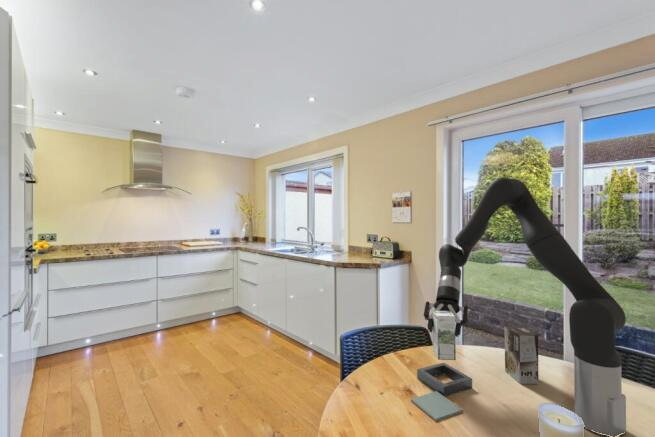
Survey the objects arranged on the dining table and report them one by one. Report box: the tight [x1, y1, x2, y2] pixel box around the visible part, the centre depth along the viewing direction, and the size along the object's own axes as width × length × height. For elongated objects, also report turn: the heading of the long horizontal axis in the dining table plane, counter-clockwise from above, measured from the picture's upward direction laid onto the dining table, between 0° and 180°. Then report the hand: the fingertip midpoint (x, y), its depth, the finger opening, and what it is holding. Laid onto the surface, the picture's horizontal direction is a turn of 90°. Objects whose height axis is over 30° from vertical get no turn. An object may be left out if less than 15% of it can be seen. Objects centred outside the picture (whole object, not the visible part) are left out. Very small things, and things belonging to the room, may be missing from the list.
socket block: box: [416, 362, 473, 398], centre depth 99 cm, size 12×12×3 cm
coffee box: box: [503, 325, 540, 385], centre depth 103 cm, size 9×6×16 cm
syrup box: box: [432, 310, 457, 361], centre depth 99 cm, size 6×6×14 cm
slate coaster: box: [410, 390, 464, 422], centre depth 87 cm, size 10×10×1 cm
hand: (443, 333), depth 98 cm, fingers closed on syrup box, 7 cm apart
